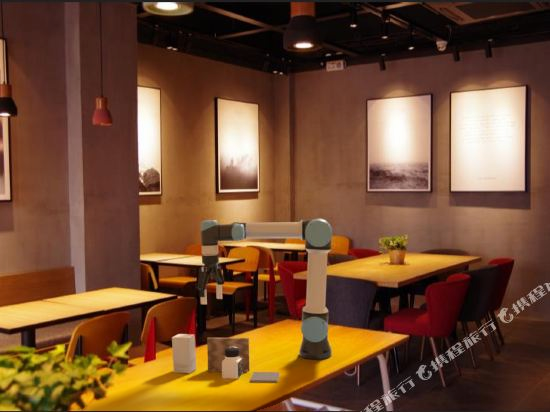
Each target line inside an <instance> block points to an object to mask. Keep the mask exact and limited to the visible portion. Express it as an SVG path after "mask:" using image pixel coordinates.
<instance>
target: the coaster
mask: <svg viewBox="0 0 550 412" xmlns="http://www.w3.org/2000/svg"><path fill="white" fill-rule="evenodd" d="M279 377H280V371H253V373H252V375H251V377H250V379H249V382H250V383H278V380H279Z"/></svg>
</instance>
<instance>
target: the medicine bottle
mask: <svg viewBox="0 0 550 412" xmlns="http://www.w3.org/2000/svg"><path fill="white" fill-rule="evenodd" d="M242 375H243V365H242V357H239V348H237V347H228V348H226V349H225V359H224V360H223V361H222V371H221V378H222V379H228V380H229V379H233V380H235V379H236V380H239V379H240V377H241V376H242Z"/></svg>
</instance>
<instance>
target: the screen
mask: <svg viewBox="0 0 550 412" xmlns="http://www.w3.org/2000/svg"><path fill="white" fill-rule="evenodd" d="M206 340H207V347H206V348H207V349H206V350H207V372H208V373H216V372H217V371H218V372H219V371H221V372H222V361H223V360H224V359H225V349H226V348H228V347H237V348H239V357H242V365H243V373H248V372H249V371H250V337H207V339H206Z"/></svg>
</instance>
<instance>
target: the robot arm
mask: <svg viewBox="0 0 550 412" xmlns="http://www.w3.org/2000/svg"><path fill="white" fill-rule="evenodd" d="M332 238H333V227H332V226H331V223H330V222H329V221H328V220H327V219H324V218H322V217H317V218H311V219H301V220H300V221H293V222H292V221H284V222H283V221H281V222H278V221H277V222H276V221H274V222H268V221H267V222H266V221H265V222H264V221H263V222H239V221H238V222H236V221H234V222H231V223H229V224H219V223H218V221H217V219H216V220H215V219H213V220H212V219H211V220H210V219H209V220H202V221H201V223H200V240H201V241H200V243H201V255H202V256H201V263H202V264H203V265H204V266H200V269H199V270H200V271H199V276H198V281H197V285H196V289H197V290H198V291H199V295H200V296H199V297H200V305H208V299H207V298H208V297H207V295H208V294H207V293H208V292H207V285H208V282H209V279H210V278H211V277H212V276H213V279H214V280H215V281H214V282H216V285H215V289H216V290H215V292H216V293H215V294H216V299H217V300H223V285H225V277H224V275H223V273H224V272H223V271H222V267H221V266H222V265H221V263H220V257H219V242H239V241H241V242H242V241H243V240H244V239H245V240H246V239H300V240H301V241H305V242H304V249H305V250H306V252H307V272H306V273H307V274H306V275H307V277H306V296H305V297H306V298H305V299H306V300H305V306H303V307H302V311H301V313H302V314H301V315H302V316H301V326H300V331H301V333H302V341H301V344H300V347H299V357H300V358H302V359H307V360H323V359H328V358H331V356H332V353H333V351H332V347H331V345H330V342H329V338H328V333H329V309H328V308H327V307H326V302H327V301H326V300H327V299H326V298H327V297H326V295H327V294H326V293H327V275H328V274H327V273H328V271H327V270H328V253H329V252H331V251H332Z"/></svg>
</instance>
